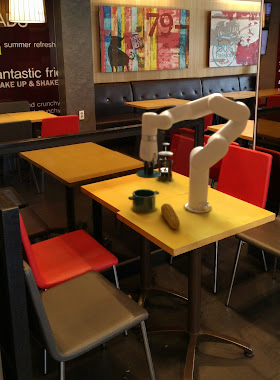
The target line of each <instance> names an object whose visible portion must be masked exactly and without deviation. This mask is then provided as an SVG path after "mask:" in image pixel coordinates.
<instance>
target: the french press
mask: <svg viewBox="0 0 280 380" xmlns="http://www.w3.org/2000/svg"><path fill="white" fill-rule="evenodd" d="M162 145H163V146H164V149H165V151H158V158H159V159H157V164H158V169H157V171H159V172H160V173H161V176H159V177H157V178H156V180H157V181H158V182H169V183H170V182H173V164H174V160H172V159H169V158H167V157H172V158H173V154H174V153H173V152H172V151H167V147H168V146H169V145H170V143H168V142H163V143H162ZM163 166H164V167H163ZM166 166H167V167H166Z"/></svg>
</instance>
